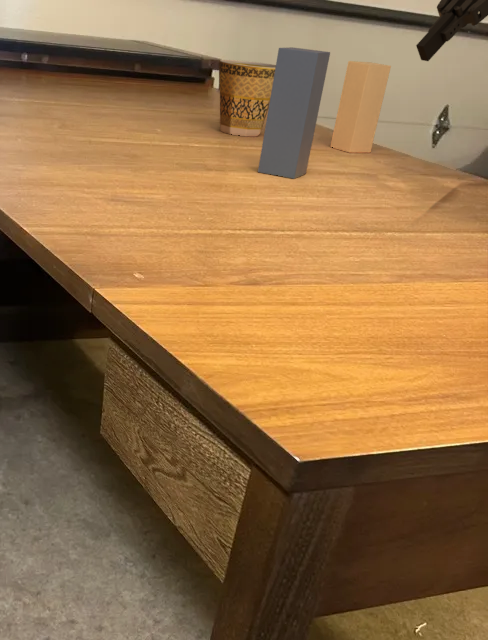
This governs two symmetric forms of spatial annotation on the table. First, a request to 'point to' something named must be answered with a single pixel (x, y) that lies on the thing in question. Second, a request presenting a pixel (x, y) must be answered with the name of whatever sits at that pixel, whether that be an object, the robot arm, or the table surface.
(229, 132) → the ceramic cup
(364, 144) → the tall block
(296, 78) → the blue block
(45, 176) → the table surface
